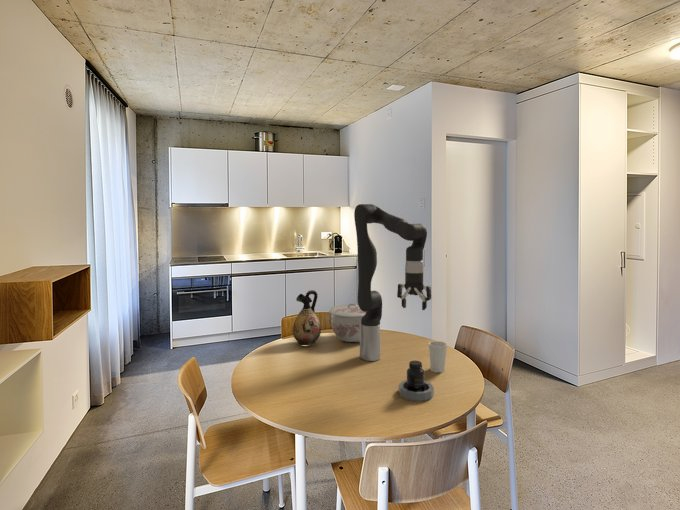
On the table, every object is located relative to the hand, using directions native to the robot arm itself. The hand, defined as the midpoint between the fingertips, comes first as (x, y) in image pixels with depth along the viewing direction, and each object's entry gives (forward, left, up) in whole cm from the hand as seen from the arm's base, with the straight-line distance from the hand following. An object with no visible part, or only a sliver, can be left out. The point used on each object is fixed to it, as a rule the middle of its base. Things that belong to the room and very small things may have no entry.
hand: (413, 308), depth 167 cm
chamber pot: (-48, +36, -30) cm, 67 cm away
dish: (+6, -16, -30) cm, 34 cm away
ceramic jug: (-66, +17, -30) cm, 74 cm away
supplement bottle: (+6, -16, -29) cm, 34 cm away
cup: (+7, +12, -30) cm, 33 cm away
